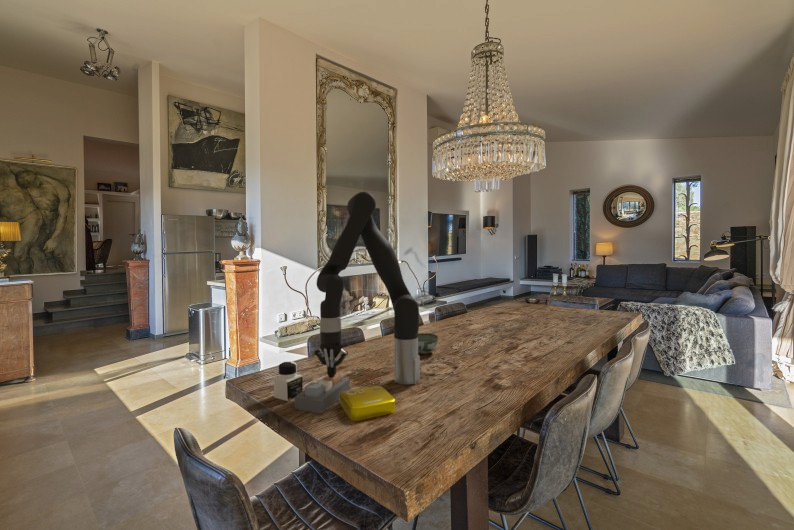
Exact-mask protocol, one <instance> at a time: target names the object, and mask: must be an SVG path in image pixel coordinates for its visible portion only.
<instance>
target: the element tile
mask: <svg viewBox="0 0 794 530" xmlns="http://www.w3.org/2000/svg"><path fill="white" fill-rule="evenodd" d="M339 399H340V400H339V401H340V402H339V403H340V406H341V408H342V409H343V411H344V412H345V413H346V415H347V417H348V418H349V419H350V420H352V421H362V420H367V419H371V418H376V417H381V416H386V415H390V414H394V413H396V399H395V397H393V395H392V394H391V393H389V392H388V391H387V390H386V389H385V388H384V387H383V386H381V385H379V384H378V385H372V386H366V387H361V388H354V389H350V390H348V391H343V392H341V393H340V398H339Z"/></svg>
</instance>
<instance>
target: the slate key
mask: <svg viewBox="0 0 794 530" xmlns="http://www.w3.org/2000/svg"><path fill="white" fill-rule="evenodd" d="M304 390H305V397H311V398H319V397H320V396H321V395H323V394H324V388H323V384H321V383H316V382H313V381H312V382H310V383H308V384H307V385H306V386H304Z"/></svg>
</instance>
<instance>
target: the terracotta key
mask: <svg viewBox="0 0 794 530" xmlns="http://www.w3.org/2000/svg"><path fill="white" fill-rule="evenodd" d="M322 378H323V379H324V380H325V381H332V385H336V384H338V383H339V382H340V378H341V375H340V374H336V375H335V376H334V377H329V375H328V374H326V377H325V376H323V377H322Z"/></svg>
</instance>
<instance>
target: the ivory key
mask: <svg viewBox="0 0 794 530" xmlns="http://www.w3.org/2000/svg"><path fill="white" fill-rule="evenodd" d="M320 380H321V379H320ZM318 381H319V380H318ZM318 381H317V382H318ZM318 383H321V384H323V388H324V391H328V390H330V389H331V388H332V381H325V380H321V381H319V382H318Z"/></svg>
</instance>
